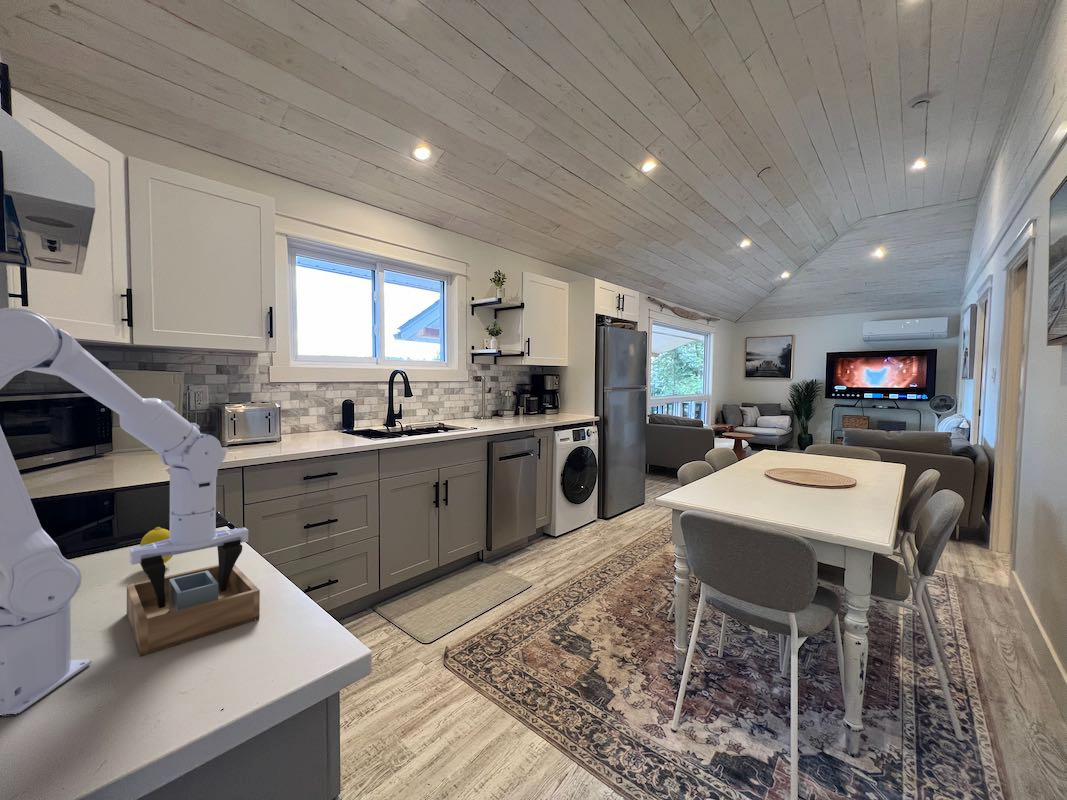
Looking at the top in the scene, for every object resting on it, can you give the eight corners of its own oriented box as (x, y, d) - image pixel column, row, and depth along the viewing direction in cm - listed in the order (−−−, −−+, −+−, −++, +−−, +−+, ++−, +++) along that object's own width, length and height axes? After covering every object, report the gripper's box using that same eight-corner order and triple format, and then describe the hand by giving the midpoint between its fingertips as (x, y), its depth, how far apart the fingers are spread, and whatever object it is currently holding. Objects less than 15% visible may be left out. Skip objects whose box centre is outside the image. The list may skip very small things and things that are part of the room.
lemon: (154, 574, 85) (154, 532, 85) (131, 571, 86) (131, 530, 86) (182, 563, 90) (183, 524, 90) (160, 561, 91) (160, 522, 91)
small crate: (218, 615, 69) (218, 583, 69) (177, 627, 66) (177, 593, 65) (207, 600, 74) (207, 570, 74) (168, 610, 70) (169, 579, 70)
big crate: (259, 618, 70) (259, 590, 70) (139, 656, 59) (140, 622, 59) (231, 586, 81) (231, 561, 80) (126, 613, 70) (126, 585, 70)
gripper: (240, 498, 78) (239, 576, 78) (127, 513, 67) (127, 603, 67) (252, 505, 73) (251, 588, 73) (133, 524, 62) (133, 621, 63)
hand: (192, 597), depth 70 cm, fingers open, 7 cm apart
